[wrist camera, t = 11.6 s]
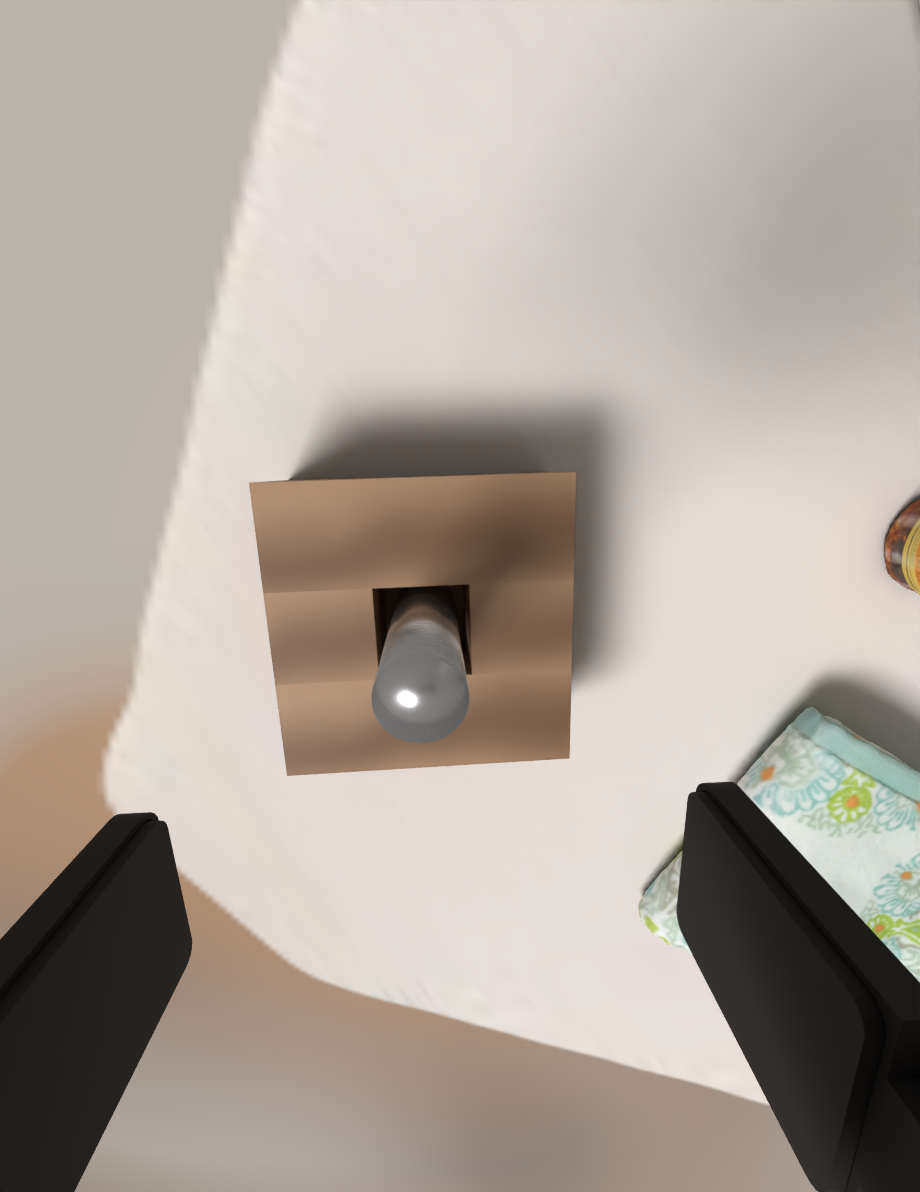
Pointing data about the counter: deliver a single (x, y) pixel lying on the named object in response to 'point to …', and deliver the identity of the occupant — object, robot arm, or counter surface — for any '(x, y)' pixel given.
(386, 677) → the pin
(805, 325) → the counter surface
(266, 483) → the socket block
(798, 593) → the counter surface
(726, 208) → the counter surface
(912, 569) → the sauce bottle
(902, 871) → the towel
